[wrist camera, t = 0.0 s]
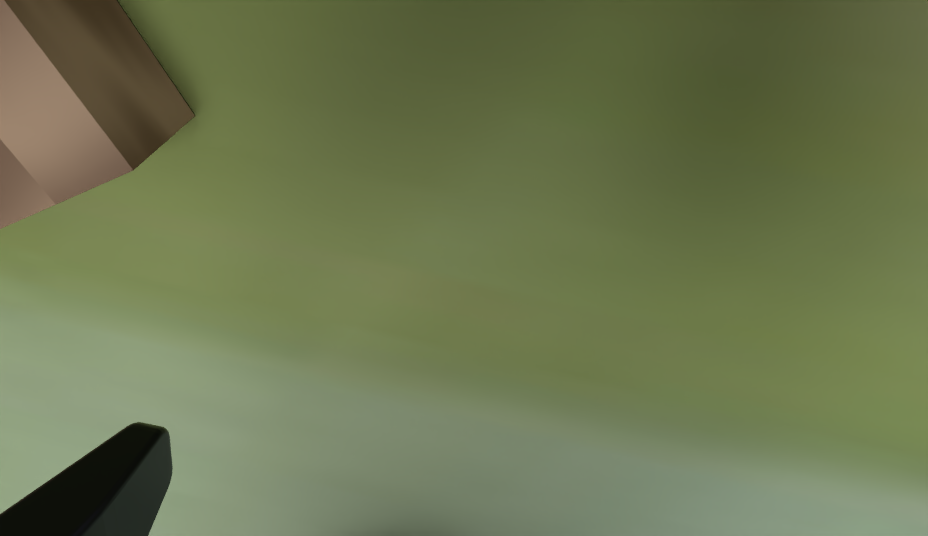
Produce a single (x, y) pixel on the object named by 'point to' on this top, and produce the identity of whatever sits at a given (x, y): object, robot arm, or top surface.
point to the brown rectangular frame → (76, 101)
